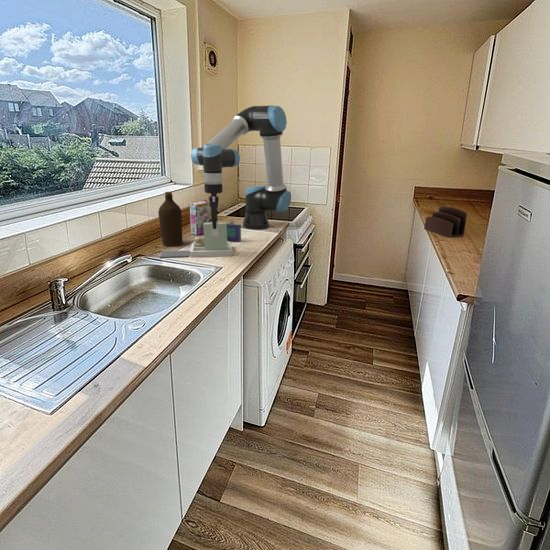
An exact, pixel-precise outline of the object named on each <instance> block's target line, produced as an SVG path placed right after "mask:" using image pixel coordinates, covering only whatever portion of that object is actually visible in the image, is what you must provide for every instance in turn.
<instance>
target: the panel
mask: <svg viewBox="0 0 550 550" xmlns="http://www.w3.org/2000/svg"><path fill="white" fill-rule="evenodd" d="M226 222H227V221H226ZM226 222H219V221H218V236H212V231H211V222H210V223H203V228H204V234H203V237H204V248H205V251H209V250H227V242H228V241H227V223H226Z"/></svg>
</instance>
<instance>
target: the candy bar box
mask: <svg viewBox="0 0 550 550" xmlns="http://www.w3.org/2000/svg"><path fill="white" fill-rule="evenodd" d="M210 219H211V207H210V202H209V201H198V202H193V203H189V221H190V235H192V236H201V235H204V228H203V223H211V221H210Z"/></svg>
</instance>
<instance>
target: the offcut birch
mask: <svg viewBox="0 0 550 550" xmlns="http://www.w3.org/2000/svg"><path fill="white" fill-rule="evenodd" d="M194 243H195V246H202V245H204V236H195V237H194Z"/></svg>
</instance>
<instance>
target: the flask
mask: <svg viewBox="0 0 550 550" xmlns="http://www.w3.org/2000/svg"><path fill="white" fill-rule="evenodd" d="M226 223H227V242H231V243H232V242H233V243H240V242H242V229H241V228H242V225H241V223H234V220H233V219H230V220H229V221H226Z"/></svg>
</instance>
